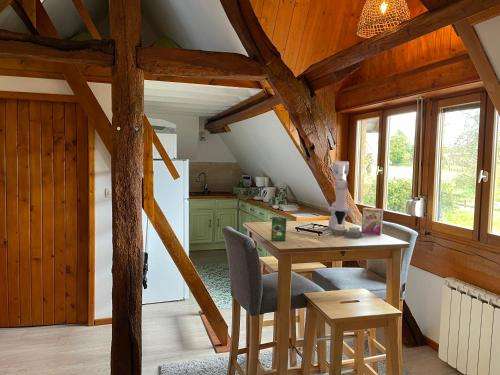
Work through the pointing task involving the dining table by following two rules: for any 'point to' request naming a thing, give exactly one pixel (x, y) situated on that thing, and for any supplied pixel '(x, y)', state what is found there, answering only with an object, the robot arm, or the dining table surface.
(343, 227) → the cream key
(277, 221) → the coffee box
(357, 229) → the light gray key
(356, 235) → the key panel
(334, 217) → the robot arm
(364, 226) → the candy bar box
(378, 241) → the dining table surface
